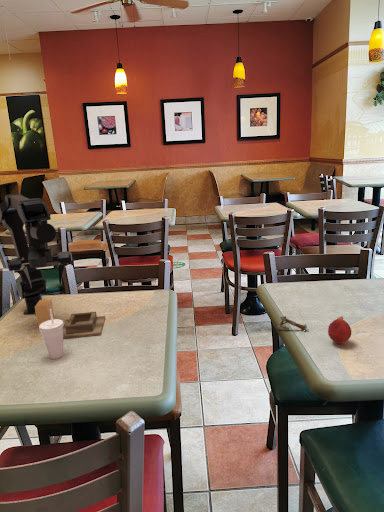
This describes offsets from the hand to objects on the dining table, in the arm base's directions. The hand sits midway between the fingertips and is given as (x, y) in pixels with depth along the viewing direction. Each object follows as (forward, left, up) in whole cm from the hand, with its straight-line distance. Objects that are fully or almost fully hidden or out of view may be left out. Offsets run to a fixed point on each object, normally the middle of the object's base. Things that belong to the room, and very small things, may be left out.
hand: (45, 286), depth 127 cm
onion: (+33, +83, -14) cm, 91 cm away
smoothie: (+22, +6, -14) cm, 27 cm away
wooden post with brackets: (+22, +74, -14) cm, 79 cm away
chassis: (+5, +11, -14) cm, 18 cm away
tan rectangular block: (-3, -3, -14) cm, 14 cm away
